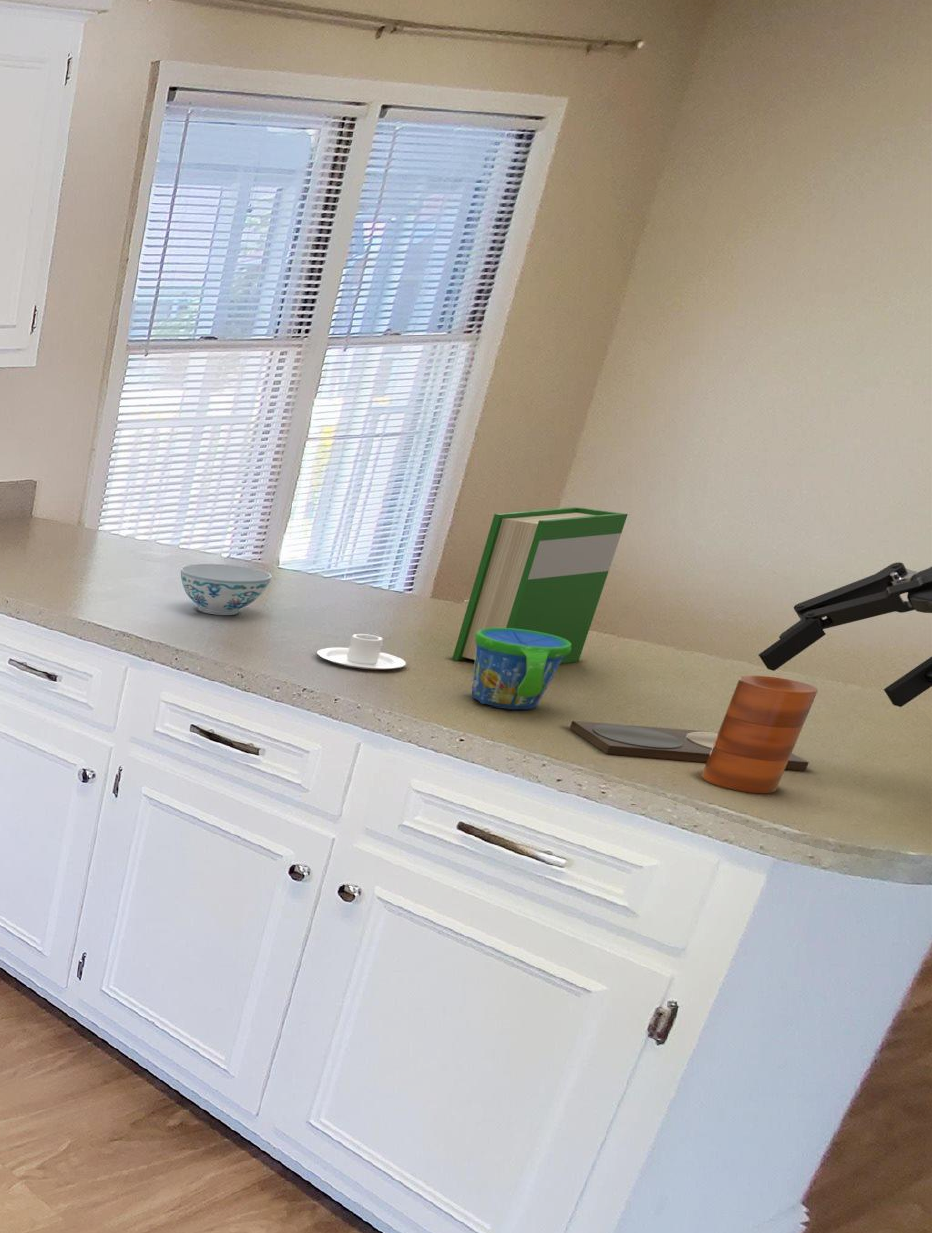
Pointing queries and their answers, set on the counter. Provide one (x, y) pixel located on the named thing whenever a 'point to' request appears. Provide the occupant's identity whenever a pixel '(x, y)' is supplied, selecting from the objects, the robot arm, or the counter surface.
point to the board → (657, 742)
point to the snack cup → (515, 666)
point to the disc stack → (758, 733)
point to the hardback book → (542, 575)
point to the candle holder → (362, 654)
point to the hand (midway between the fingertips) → (825, 680)
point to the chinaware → (223, 586)
